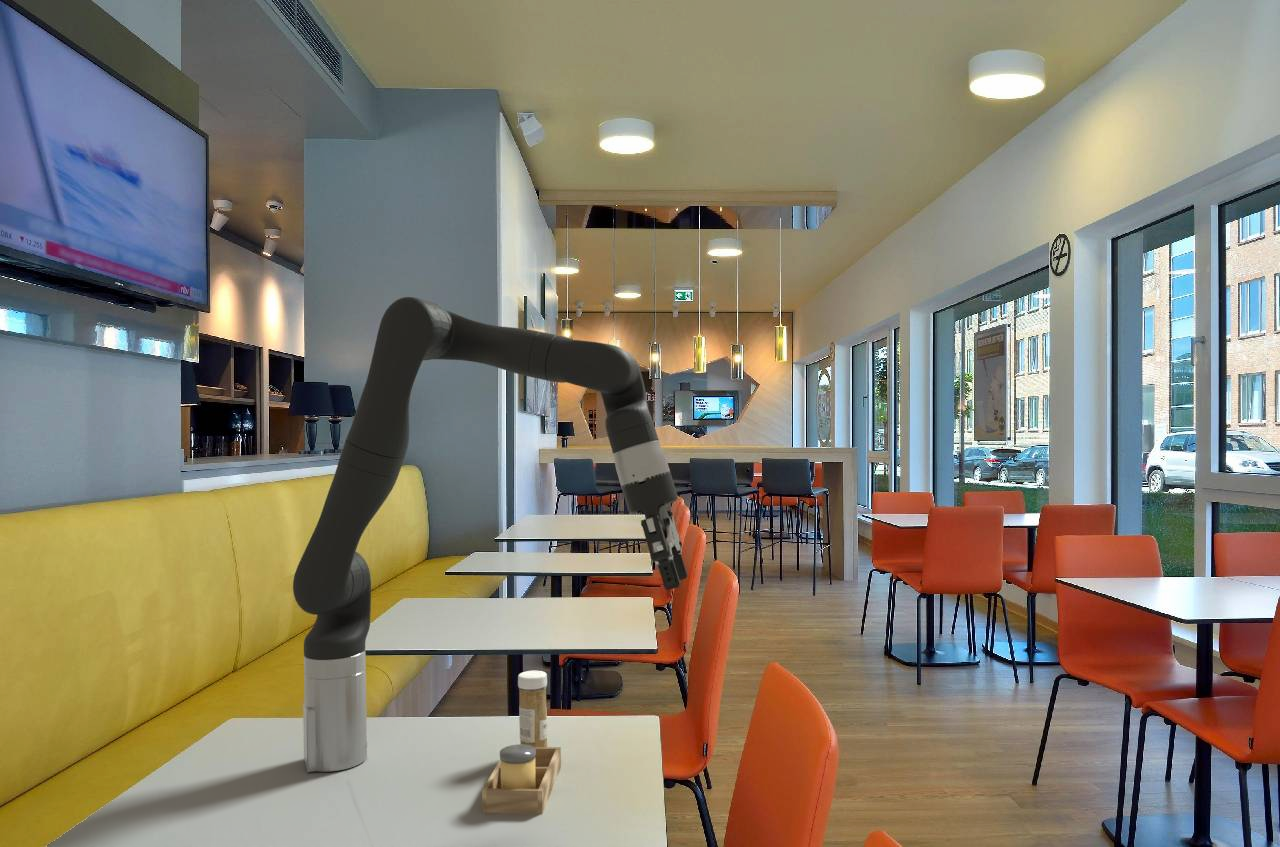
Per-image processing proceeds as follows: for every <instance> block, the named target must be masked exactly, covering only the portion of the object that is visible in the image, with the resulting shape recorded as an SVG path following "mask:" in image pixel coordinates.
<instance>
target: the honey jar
mask: <svg viewBox="0 0 1280 847" xmlns="http://www.w3.org/2000/svg"><path fill="white" fill-rule="evenodd" d="M535 757H536V749H535V747H533V746H530V745H524V744H520V743H519V744H511V745H508V746H505V747H503V748H501V749H500V751H499V761H500V760H501V789H536V771H535Z"/></svg>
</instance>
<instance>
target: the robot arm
mask: <svg viewBox="0 0 1280 847" xmlns="http://www.w3.org/2000/svg"><path fill="white" fill-rule="evenodd" d="M430 360H441V361H442V360H446V361H447V360H452V361H464V362H473V363H479V364H482V365H483V364H484V365H487V366H490V367H495V368H498V369H501V370H504V371H506V372H510V373H514V374H517V375H520V376H525V377H528V378H534V379H539V380H542V381H543V380H544V381H548V382H553V383H560V384H561V383H562V384H563V383H567V384H569V385H570V384H571V385H574V386H578V387H582V388H585V389H590V390H594V391H596V392H600V395H601V398H602V403H603V405H604V409H605V413H606V418H605V422H604V423H605V430H606V434H607V437H608V438H607V439H608V440H609V445H610V447H611V448H610V449H611V451H612V454H613V457H614V458H613V459H614V464H615V470H616V474H617V477H618V480H619V483H620V484H619V485H620V487H621V490H622V494H623V496H624V501H625V504H626V507H627V510H628V513H629V514H631V515H635V514H639V513H644V517H645V519H642V520H640V526H641V528H642V531H643V534H644V537H645V540H646V544H647V547H648V551H649V555H650V559H651V561H652V562H653V563H654V564H656V565H657V566H658V570H659V573H660V576H661V580H662V583H663V587H664V589H665V590H667V591H670V590H673V589H677V588H679V587H680V586H681V581H683V580H685V579H687V578H688V576H689V575H688V572H687V569H686V565H685V561H684V559H683V555H682V553H683V542H682V540H681V537H680V534H679V531H678V528H677V525H676V522H675V519H674V514H673V511H672V510H671V509H668V510H667V508H666V506H667V505H668V504H672V503H675V502H677V501H678V500H679V497H678V493H677V489H676V486H675V483H674V480H673V477H672V473H671V470H670V467H669V464H668V461H667V457H666V454H665V452H664V449H663V447H662V446H661V442H660V441H659V437H658V433H657V431H656V427H655V424H654V421H653V418H652V415H651V413H650V410H649V405H648V400H647V392H646V387H645V383H644V379H643V375H642V370H641V368H640V365H639V363H638V361H637V359H636V358H635V356H633V354H632V353H630V352H629V351H627V350H625V349H623V348H621V347H619V346H617V345H613V344H609V343H603V342H597V341H589V340H580V339H573V338H569V337H566V336H564V335H558V334H553V333H550V332H549V333H548V332H543V331H539V330H535V329H534V330H533V329H527V328H520V327H512V326H511V327H510V326H509V327H508V326H501V325H500V326H499V325H493V324H488V323H483V322H479V321H477V320H472V319H470V318H468V317H464V316H462V315H459V314H457V313H454V312H452V311H450V310H447V309H445V308H443V307H442V306H440V305H438V304H437V303H434V302H431V301H429V300H428V301H427V300H424V299H421V298H418V297H413V296H404V297H401V298H398V299H396V300H394V301H393V302H392V303H391V304H390V305H389V306H388V307H387V308H386V310H385V312H384V314H383V315H382V318H381V320H380V323H379V327H378V330H377V334H376V339H375V345H374V348H373V352H372V357H371V361H370V367H369V369H368V370H369V371H368V374H367V377H366V381H365V383H364V387H363V390H362V393H361V395H360V398H359V402H358V405H357V407H356V410H355V414H354V417H353V420H352V423H351V425H350V429H349V430H348V433H347V436H346V437H345V438H346V439H345V441H344V444H343V446H342V450H341V453H340V456H339V460H338V463H337V466H336V469H335V472H334V476H333V478H332V482H331V483H330V487H329V488H328V489H329V490H328V492H327V495H326V498H325V501H324V504H323V508H322V510H321V513H320V517H319V519H318V521H317V523H316V526H315V528H314V530H313V532H312V534H311V537H310V539H309V540H308V543H307V545H306V547H305V550H304V552H303V554H302V555H301V558H300V561H299V562H298V565H297V566H296V570H295V572H294V575H293V582H292V591H293V596H294V599H295V602H296V604H297V605H298V607H299V608H300V609H301V610H302V611H303V612H305V613H307V614H310V615H313V616H314V615H316V619H315V622H314V624H313V626H312V628H311V629H310V630H309V632H308V633H307V634H306V636H305V638H304V641H303V680H304V681H303V682H304V683H303V688H304V692H303V693H304V699H303V702H302V710H303V711H302V713H303V714H302V716H303V717H302V721H303V723H302V724H303V727H302V728H303V761H304V764H305V768H306V772H307V773H313V772H322V773H323V772H324V773H326V772H327V773H329V772H337V771H342V770H347V769H350V768H353V767H357V766H359V765H361V764H362V763H363V762H365V761H366V759H367V758H368V736H367V734H368V732H367V731H368V730H367V724H368V723H367V677H366V676H367V674H366V673H367V671H366V664H367V663H366V642H367V636H368V634H369V631H370V626H371V612H372V611H371V608H372V607H371V606H372V578H371V571H370V568H369V566H368V563H367V561H366V560H365V558H364V557H363V555H361V554H360V553H359V552H357V548H358V546H359V542H360V540H361V537H362V536H363V534H364V532H365V531H366V529H367V527H368V526H369V524H370V522H371V521H372V519H373V518H374V517H375V516H376V514H377V513H378V511H379V510H380V508H381V507H382V505H383V504H384V503H385V502H386V500H387V499H388V497H389V495H390V494H391V492H392V490H393V488H394V487H395V485H396V484H397V483H396V482H397V480H398V478H399V474H400V472H401V468H402V466H403V463H404V461H405V457H406V454H407V451H408V446H409V444H410V443H409V442H410V441H409V440H410V400H411V399H410V398H411V393H412V389H413V386H414V383H415V381H416V378H417V375H418V372H419V370H420V368H421V365H422V363H423V361H430Z"/></svg>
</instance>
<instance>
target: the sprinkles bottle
mask: <svg viewBox="0 0 1280 847" xmlns="http://www.w3.org/2000/svg"><path fill="white" fill-rule="evenodd" d="M547 686H548V675H547V673H546V672H545V671H542V670H527V671H523V672H520V673H519V674H518V676H517V687H518V690H519V692H518V693H519V706H518V708H519V709H518V711H519V714H518V715H519V717H518V718H519V719H518V720H519V722H518V723H519V739H520V742H519V744H524V745H530V746H533V747H548V720H547V719H548V717H547V716H548V714H547V713H548V712H547V711H548V708H547Z"/></svg>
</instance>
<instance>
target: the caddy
mask: <svg viewBox="0 0 1280 847" xmlns="http://www.w3.org/2000/svg"><path fill="white" fill-rule="evenodd" d="M535 749H536V757H535V771H536V789H501V760H500V759H499V761H498V762H497V763H496V766H495V768H494V769H493V771H492V772H491V774H490V775H489V777H488V780H487V781H486V782H485V785H484V786H483V787H482V790H481V801H482V802H481V811H482V814H528V815H529V814H533V815H534V814H535V815H536V814H538V815H541V814H542V815H543V813H544V811H545V808H546V806H547V804H548V800H549V798H550V795H551V793H552V791H553V789H554V786H555V784H556V781H557V778H558V776H559V774H560V771H561V768H562V750H561V747H560V746H558V747H557V746H556V747H555V746H553V747H552V746H547V747H535Z"/></svg>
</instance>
